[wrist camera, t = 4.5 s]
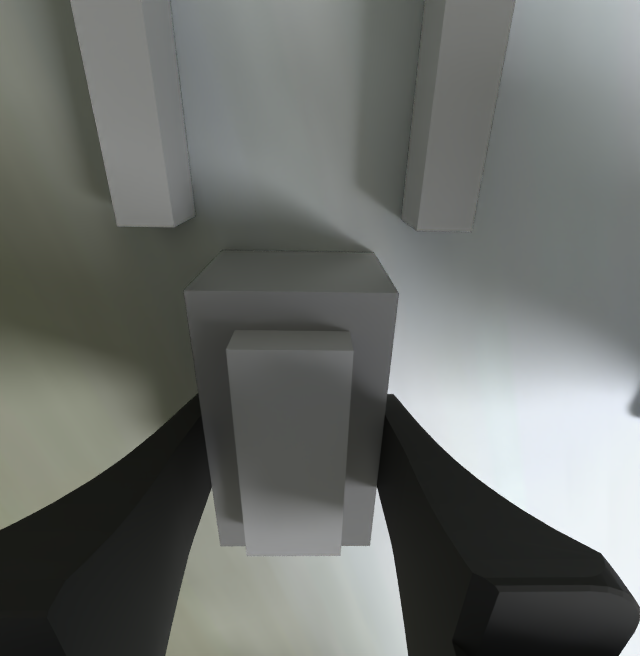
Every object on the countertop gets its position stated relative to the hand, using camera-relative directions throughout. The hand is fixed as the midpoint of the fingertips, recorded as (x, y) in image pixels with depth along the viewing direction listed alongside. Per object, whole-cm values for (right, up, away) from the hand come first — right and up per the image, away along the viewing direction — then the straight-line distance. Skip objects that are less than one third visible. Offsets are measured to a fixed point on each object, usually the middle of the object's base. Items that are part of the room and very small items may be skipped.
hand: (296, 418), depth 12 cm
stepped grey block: (0, +1, +2) cm, 3 cm away
